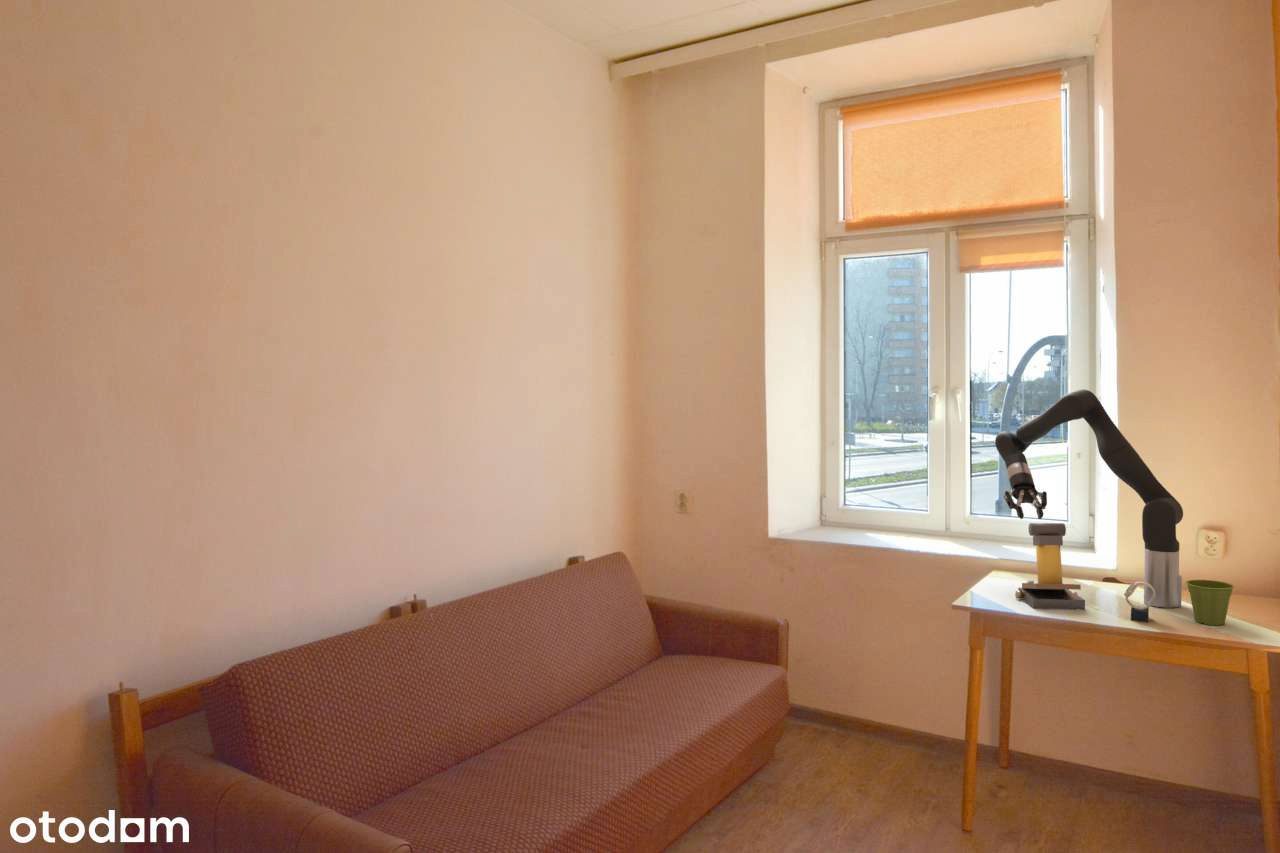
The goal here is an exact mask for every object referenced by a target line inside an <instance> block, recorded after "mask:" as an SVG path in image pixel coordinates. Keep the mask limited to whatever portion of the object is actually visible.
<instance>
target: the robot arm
mask: <svg viewBox="0 0 1280 853" xmlns="http://www.w3.org/2000/svg"><path fill="white" fill-rule="evenodd" d="M1081 419H1084V420H1085V422H1086V423H1087V424H1088V425H1089V427H1090V428H1091V429H1092V431H1093V432H1094V433H1093V434H1094V435H1095V439H1096V444H1097V449H1098V453H1099V455H1100V457H1101V459H1102V460H1103V461H1104V463H1105V464H1106V465H1107V467H1108V469H1110V470H1111V472H1112V473H1113V474H1114V476H1115V475H1116V477H1117V478H1119V479H1120V480H1121V481H1122V482H1123V483H1124V484H1126V485H1127V486H1129V487H1130V488H1131V489H1133V491H1134V492H1136V493H1137V495H1138V496H1139V497H1140V498H1141V500H1142V501H1143V502H1144V504H1145V505H1144V506H1143V509H1142V515H1141V517H1142V518H1141V520H1142V521H1141V524H1142V526H1141V530H1142V533H1141V534H1142V540H1143V542H1144V565H1143V566H1144V568H1143V569H1144V570H1143V571H1144V573H1143V574H1144V576H1143V582H1146V583H1148V584H1150V585H1151V586H1152V587H1153V588H1154V590H1155V596H1156V597H1155V600H1154V602H1153V604H1152V605H1151V606H1150V607H1157V608H1165V609H1166V608H1179V607H1182V597H1183V596H1182V595H1183V594H1182V590H1183V588H1182V587H1183V586H1182V585H1183V577H1182V575H1180V542H1179V540H1177V525H1178V524H1179V523H1180V522H1181V521H1182V520H1183V517H1184V509H1183V506H1182V505H1181V503H1180V502H1179V501H1178V500H1177V499H1176V498H1175V497H1174V496H1173V495H1172V494H1171V493H1170V492H1169V491H1168V490H1167V488H1165V487H1164V485H1163V484H1162V483H1160V481H1159V480H1158V479H1157V478H1156V476H1155V475H1154V473H1153V472H1152V471H1151V469H1150V468H1149V467H1148V465H1147V464H1146V462H1145V461H1144V460H1143V458H1141V456H1140V454H1139V453H1138V452H1137V451H1136V449H1135V448H1134V447H1133V446H1132V444H1131V443H1130V442H1129V441H1128V440H1127V438H1126V437H1125V435H1123V434H1122V432H1121V431H1120V429H1119V428H1118V427H1117V425H1116V424H1115V423H1114V421H1113V420H1112V419H1111V417H1110V416H1109V414H1108V413H1107V411H1106V409H1105V407H1104V406H1103V405H1102V403H1101V402H1100V400H1099V398H1098V397H1097V395H1095V394H1094V393H1093V392H1092V391H1091V390H1088V389H1078V390H1075V391H1071V392H1068V393H1066V394H1064V395H1063V396H1062V397H1061V398H1060V399H1058V400H1057V401H1056V402H1055V403H1054V404H1052V405H1051V406H1050V407H1049V408H1048V409H1047V410H1045V411H1044V412H1042V413H1041V414H1039V415H1037V416H1034V417H1033V418H1031V419H1030V420H1028V421H1026V422H1024V423H1023V424H1021V425H1019V426H1018V427H1017V429H1016V432H1015V433H1013V432H1011V431H1006V430H1005V431H1001V432H999V433H998V434H996V436H995V438H994V439H995V441H994V443H995V444H994V445H995V448H996V450H997V452H998V454H999V456H1000V457H1001V458H1002V460H1003V461H1004V464H1005V467H1006V471H1007V479H1008V482H1009V486H1010V489H1011V491H1009V490H1006V491H1004V493H1003V498H1004V500H1005V503H1006V504H1007V506H1008V508H1009V509H1011V510H1015V511H1016V515H1017V517H1018V518H1019V519H1020V520H1023V519H1024V511H1023V508H1022V507H1023V506H1022V504H1026V503H1027V504H1030V505H1031V506H1032V507H1034V509H1035V510H1036V512H1035V513H1036V515H1037V519H1038V520H1041V519H1042V518H1043V517H1044V510H1046V506H1047V505H1048V495H1047V494H1048V493H1047V491H1042V492H1039V491H1038V490H1037V489H1036V485H1035V482H1034V481H1035V480H1034V478H1033V476H1032V471H1031V469H1030V467H1029V464H1028V460H1027V458H1026V455H1025V454H1024V452H1025V451H1026V450H1027V449H1028V448H1029V447H1030V446H1031V445H1032V443H1034V442H1036V441H1038V440H1039V439H1042V437H1045V436H1046V435H1047V434H1049V433H1050V432H1051V431H1052V430H1053V429H1054V428H1057V426H1060V425H1063V424H1065V423H1068V422H1072V421H1077V420H1081ZM1012 497H1013V498H1014V499H1016V503H1015V502H1014V499H1013V498H1012ZM1039 499H1040V500H1039ZM1153 593H1154V592H1153V591H1152V589H1151V588H1150V587H1148V586H1147V585H1144V584H1143V603H1144V604H1145V605H1147V604H1148V603H1149V602H1150V600H1151V598H1152V596H1153Z"/></svg>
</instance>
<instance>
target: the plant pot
mask: <svg viewBox="0 0 1280 853" xmlns="http://www.w3.org/2000/svg"><path fill="white" fill-rule="evenodd" d="M1185 584H1186V585H1187V587H1188V588H1187V589H1188V592H1189V595H1190V601H1191V605H1192V606H1191V607H1192V611H1193V617H1194V621H1195V622H1196V623H1199V624H1200V623H1202V624H1204V625H1206V626H1207V625H1208V626H1221V625H1225V624H1226V620H1227V615H1228V610H1229V609H1228V608H1229V603H1230V600H1231V596H1232V595H1233V594H1232V592H1233V590H1234V589H1235V587H1236V586H1235V584H1233V583H1229V582H1225V581H1219V580H1211V579H1189V580H1186V581H1185Z"/></svg>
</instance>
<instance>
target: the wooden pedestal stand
mask: <svg viewBox="0 0 1280 853" xmlns="http://www.w3.org/2000/svg"><path fill="white" fill-rule="evenodd" d="M1028 534H1029V536H1031V537H1032V544H1033V546H1035V552H1036V570H1037V571H1036V572H1037V583H1036V582H1035V581H1034V580H1026V582H1021V588H1033V589H1069V590H1078V591H1079V590H1082V586H1081V584H1077V583H1075V584H1074V583H1063V571H1062V556H1061V555H1062V552H1061V551H1062V550H1061V546H1063V545H1064V543H1063V542H1064V541H1063V537H1065V536H1066V534H1067V528H1066V525H1065V523H1062V522H1061V523H1059V522H1058V523H1054V522H1053V523H1051V522H1050V523H1047V522H1043V523H1042V522H1029V523H1028Z"/></svg>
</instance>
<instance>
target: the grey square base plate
mask: <svg viewBox="0 0 1280 853" xmlns="http://www.w3.org/2000/svg"><path fill="white" fill-rule="evenodd" d="M1014 595H1015V598H1016V599H1020V600H1022V601H1023V602H1025V603H1026V604H1027V605H1028V606H1029V607H1031V608H1032V609H1034V610H1035V609H1040V610H1041V609H1042V610H1077V609H1080V610H1081V611H1083V610H1086V599H1084V598H1083V597H1081V596H1079V595H1078V592H1077V591H1073V590H1071V589H1033V588H1022V587H1018V590H1015V593H1014Z"/></svg>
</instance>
